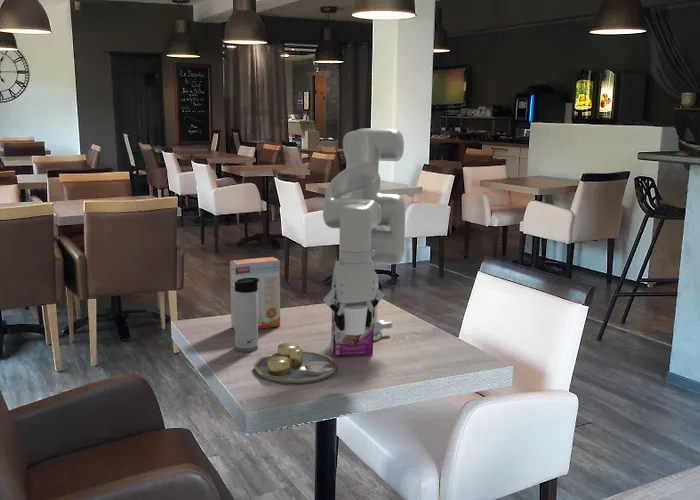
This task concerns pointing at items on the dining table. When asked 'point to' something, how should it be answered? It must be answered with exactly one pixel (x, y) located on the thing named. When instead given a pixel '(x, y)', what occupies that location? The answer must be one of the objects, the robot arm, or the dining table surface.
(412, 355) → the dining table surface
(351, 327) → the shot glass
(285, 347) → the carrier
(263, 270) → the cracker box
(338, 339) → the candy bar box
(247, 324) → the travel mug
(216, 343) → the dining table surface
